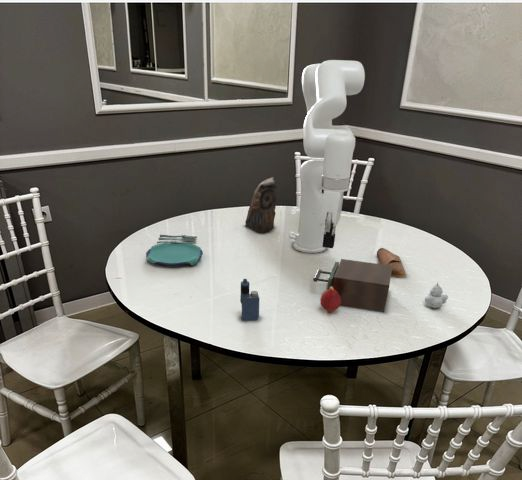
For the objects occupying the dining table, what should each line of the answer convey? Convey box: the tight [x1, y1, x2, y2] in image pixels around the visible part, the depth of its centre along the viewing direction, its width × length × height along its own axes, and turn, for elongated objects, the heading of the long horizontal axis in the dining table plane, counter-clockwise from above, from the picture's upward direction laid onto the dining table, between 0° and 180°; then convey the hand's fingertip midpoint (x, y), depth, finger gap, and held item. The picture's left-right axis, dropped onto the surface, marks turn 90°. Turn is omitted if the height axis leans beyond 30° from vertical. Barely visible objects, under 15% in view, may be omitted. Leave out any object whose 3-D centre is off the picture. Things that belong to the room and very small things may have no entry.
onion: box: [320, 287, 341, 313], centre depth 135 cm, size 6×6×8 cm
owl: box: [244, 176, 278, 235], centre depth 191 cm, size 13×13×20 cm
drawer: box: [312, 261, 340, 291], centre depth 144 cm, size 20×14×7 cm
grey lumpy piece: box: [424, 282, 449, 309], centre depth 140 cm, size 5×7×8 cm
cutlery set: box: [145, 234, 204, 267], centre depth 171 cm, size 20×30×2 cm, turn 2°
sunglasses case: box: [376, 247, 407, 278], centre depth 166 cm, size 18×7×7 cm
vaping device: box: [239, 278, 260, 322], centre depth 129 cm, size 3×5×12 cm, turn 95°
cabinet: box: [333, 258, 392, 313], centre depth 143 cm, size 16×15×9 cm
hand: (328, 246), depth 140 cm, fingers closed
